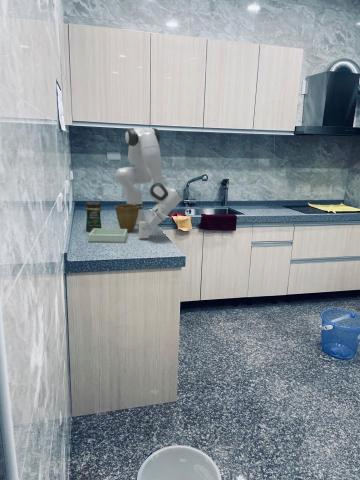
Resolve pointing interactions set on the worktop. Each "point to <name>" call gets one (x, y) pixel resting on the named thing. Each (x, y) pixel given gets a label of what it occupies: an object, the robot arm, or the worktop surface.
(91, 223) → the coffee jar
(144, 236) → the cup post
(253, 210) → the worktop surface
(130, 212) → the plant pot
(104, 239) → the tray
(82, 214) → the worktop surface
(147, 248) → the worktop surface
